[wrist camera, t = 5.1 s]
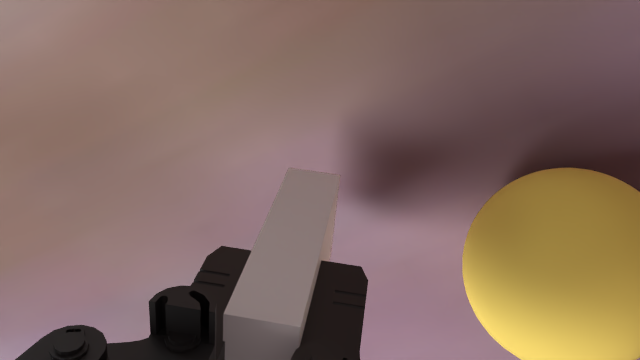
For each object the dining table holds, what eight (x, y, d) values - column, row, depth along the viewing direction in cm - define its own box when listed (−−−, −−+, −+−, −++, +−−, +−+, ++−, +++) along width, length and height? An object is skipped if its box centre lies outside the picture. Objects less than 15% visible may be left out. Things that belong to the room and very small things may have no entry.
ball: (777, 232, 13) (628, 143, 18) (543, 225, 12) (455, 134, 17) (689, 419, 15) (579, 294, 20) (487, 424, 14) (424, 292, 19)
